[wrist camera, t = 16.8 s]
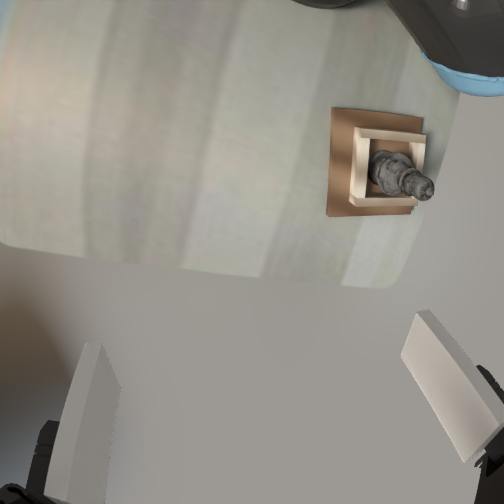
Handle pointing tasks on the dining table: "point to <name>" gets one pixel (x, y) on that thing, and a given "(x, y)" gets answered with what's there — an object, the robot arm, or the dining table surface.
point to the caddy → (358, 153)
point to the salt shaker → (398, 176)
